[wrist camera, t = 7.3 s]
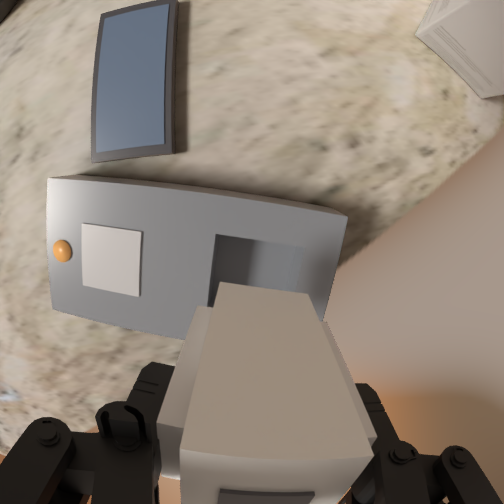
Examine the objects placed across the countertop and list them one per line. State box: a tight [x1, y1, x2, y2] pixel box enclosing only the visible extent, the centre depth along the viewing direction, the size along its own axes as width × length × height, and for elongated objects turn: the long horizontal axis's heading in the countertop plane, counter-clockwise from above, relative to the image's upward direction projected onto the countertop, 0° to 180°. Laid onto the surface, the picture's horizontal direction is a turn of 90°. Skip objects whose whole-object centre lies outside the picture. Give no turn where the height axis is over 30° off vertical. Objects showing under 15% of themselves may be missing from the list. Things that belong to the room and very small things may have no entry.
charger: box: [180, 282, 374, 504], centre depth 10 cm, size 4×4×9 cm
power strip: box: [47, 175, 348, 340], centre depth 20 cm, size 10×20×4 cm, turn 81°
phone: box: [91, 0, 179, 163], centre depth 18 cm, size 13×6×1 cm, turn 1°
